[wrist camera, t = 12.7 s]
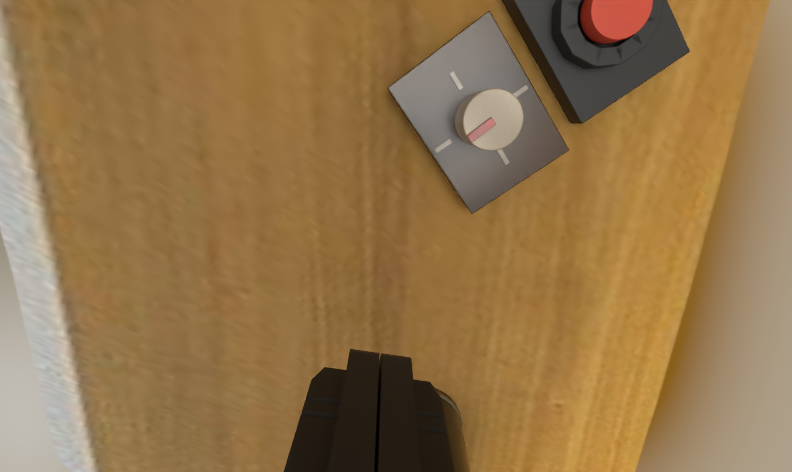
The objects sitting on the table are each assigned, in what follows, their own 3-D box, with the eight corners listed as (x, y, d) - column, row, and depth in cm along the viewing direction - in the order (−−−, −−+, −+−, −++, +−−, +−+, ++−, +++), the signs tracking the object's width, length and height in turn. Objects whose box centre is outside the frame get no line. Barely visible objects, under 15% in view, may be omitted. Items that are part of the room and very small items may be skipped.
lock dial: (487, 80, 29) (503, 73, 25) (516, 124, 30) (537, 125, 26) (443, 114, 30) (451, 114, 26) (473, 156, 31) (486, 163, 26)
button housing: (671, 55, 32) (708, 47, 28) (570, 123, 33) (592, 124, 29) (602, -91, 29) (633, -122, 25) (496, -9, 30) (510, -27, 27)
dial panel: (555, 147, 34) (570, 150, 31) (466, 206, 35) (472, 214, 32) (481, 19, 31) (490, 9, 28) (388, 90, 33) (387, 87, 30)
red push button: (647, 20, 28) (663, 14, 26) (596, 56, 28) (608, 52, 27) (622, -34, 27) (637, -44, 25) (569, 5, 27) (580, -3, 26)
